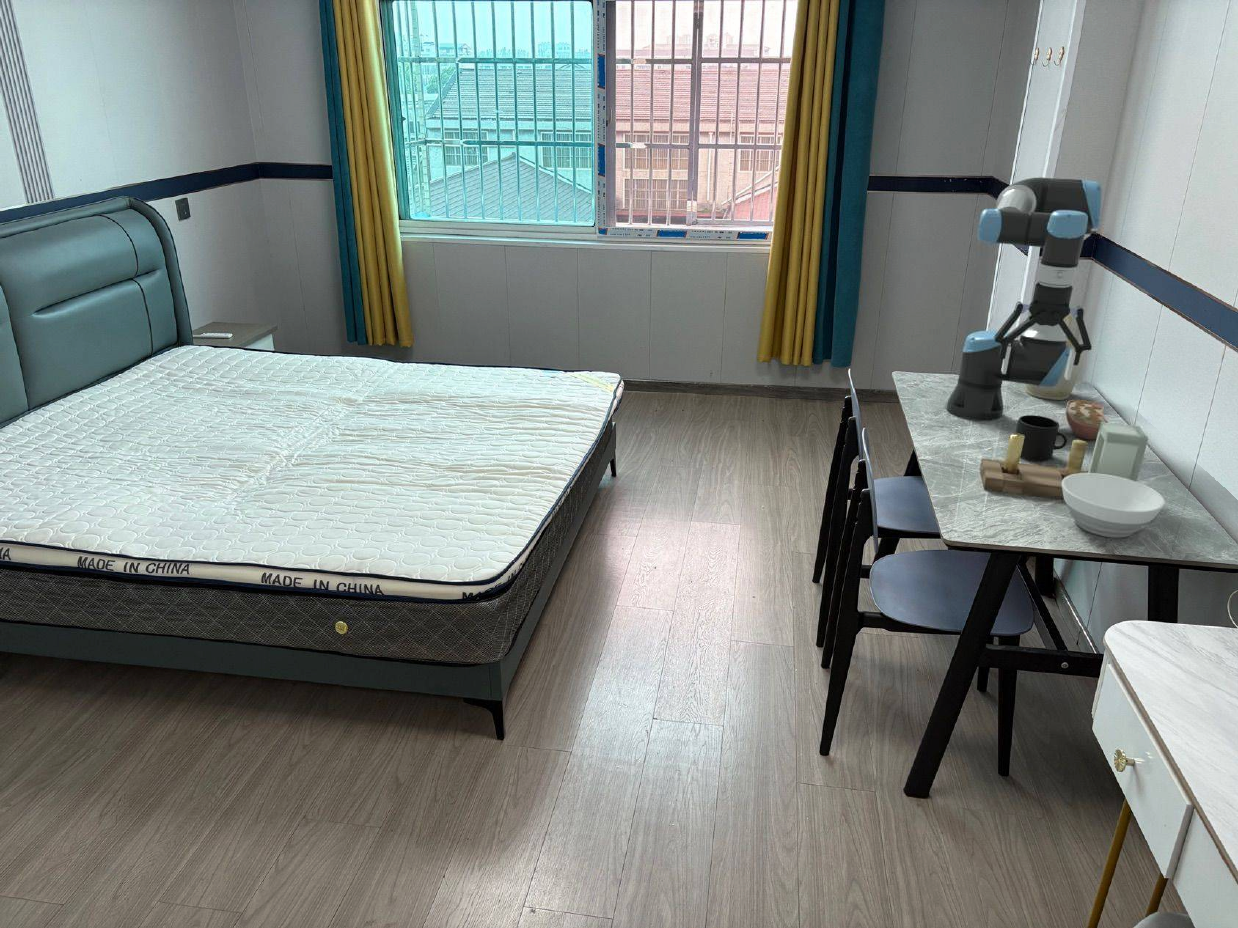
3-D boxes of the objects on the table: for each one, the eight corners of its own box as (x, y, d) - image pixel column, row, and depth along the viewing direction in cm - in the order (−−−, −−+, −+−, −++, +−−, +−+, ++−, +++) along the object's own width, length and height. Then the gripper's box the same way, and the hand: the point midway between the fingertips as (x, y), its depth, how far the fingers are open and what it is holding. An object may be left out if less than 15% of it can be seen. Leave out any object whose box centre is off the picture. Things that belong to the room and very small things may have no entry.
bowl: (1082, 548, 182) (1092, 511, 179) (1036, 506, 200) (1044, 472, 197) (1175, 548, 183) (1186, 511, 180) (1121, 506, 201) (1130, 472, 198)
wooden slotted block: (979, 469, 218) (988, 423, 214) (1114, 486, 211) (1127, 439, 206) (983, 489, 208) (993, 441, 203) (1126, 507, 200) (1139, 458, 196)
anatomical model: (1106, 446, 236) (1111, 428, 234) (1065, 440, 239) (1069, 423, 237) (1097, 419, 255) (1102, 402, 254) (1059, 414, 259) (1063, 397, 257)
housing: (1088, 473, 210) (1100, 422, 205) (1125, 477, 208) (1139, 426, 203) (1094, 486, 202) (1108, 434, 197) (1133, 491, 201) (1148, 438, 196)
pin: (1000, 479, 213) (1010, 432, 209) (1013, 481, 212) (1023, 433, 208) (1001, 484, 211) (1011, 436, 206) (1015, 486, 210) (1025, 438, 205)
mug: (1063, 466, 222) (1071, 432, 218) (1011, 457, 226) (1018, 424, 223) (1062, 453, 230) (1070, 420, 226) (1012, 445, 234) (1019, 412, 231)
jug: (1058, 386, 283) (1076, 307, 273) (1084, 402, 269) (1104, 320, 259) (1011, 385, 282) (1027, 307, 272) (1034, 402, 268) (1052, 319, 258)
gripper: (996, 283, 198) (978, 374, 207) (1120, 292, 192) (1097, 386, 200) (993, 275, 204) (976, 364, 213) (1113, 284, 198) (1091, 375, 207)
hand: (1034, 375), depth 207 cm, fingers open, 13 cm apart
